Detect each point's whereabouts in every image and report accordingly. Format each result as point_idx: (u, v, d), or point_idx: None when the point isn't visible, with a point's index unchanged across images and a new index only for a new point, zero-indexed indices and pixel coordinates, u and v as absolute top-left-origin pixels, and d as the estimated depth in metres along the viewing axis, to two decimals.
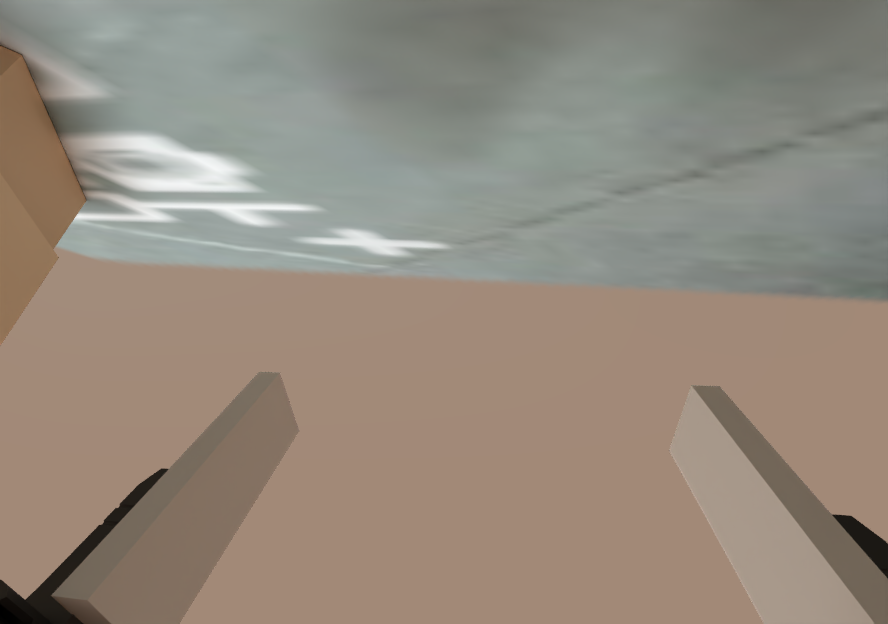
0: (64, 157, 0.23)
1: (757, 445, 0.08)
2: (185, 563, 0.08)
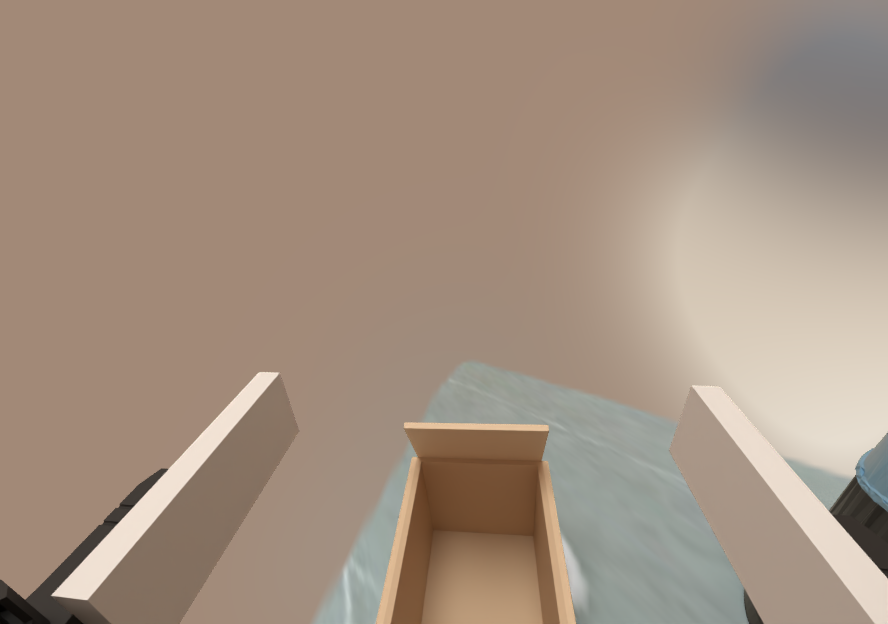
0: None
1: (757, 445, 0.08)
2: (185, 563, 0.08)
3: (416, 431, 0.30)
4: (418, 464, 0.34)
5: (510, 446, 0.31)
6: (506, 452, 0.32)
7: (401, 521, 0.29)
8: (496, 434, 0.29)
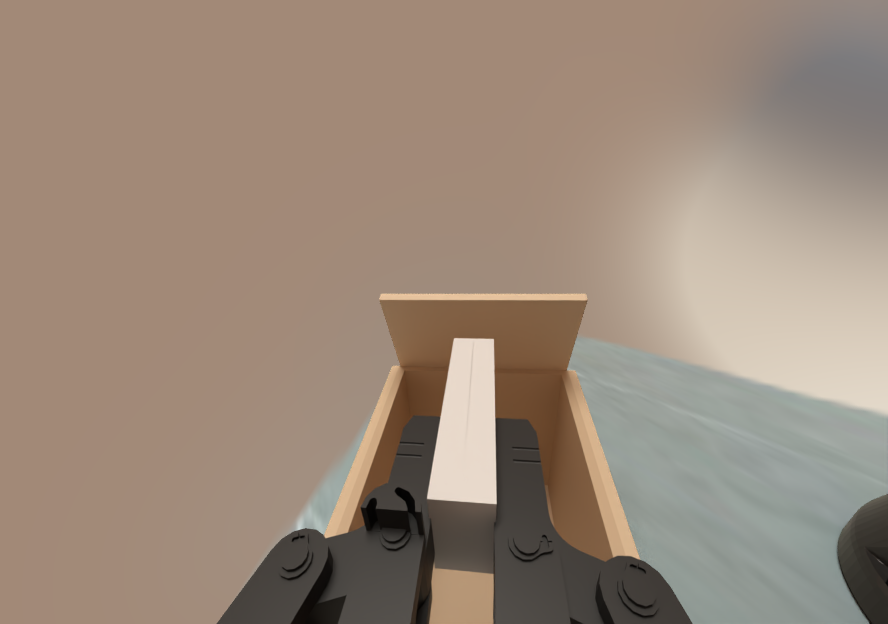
0: None
1: (485, 375, 0.11)
2: None
3: (396, 307, 0.21)
4: (400, 373, 0.25)
5: (527, 338, 0.22)
6: (520, 352, 0.24)
7: (370, 431, 0.21)
8: (510, 312, 0.21)
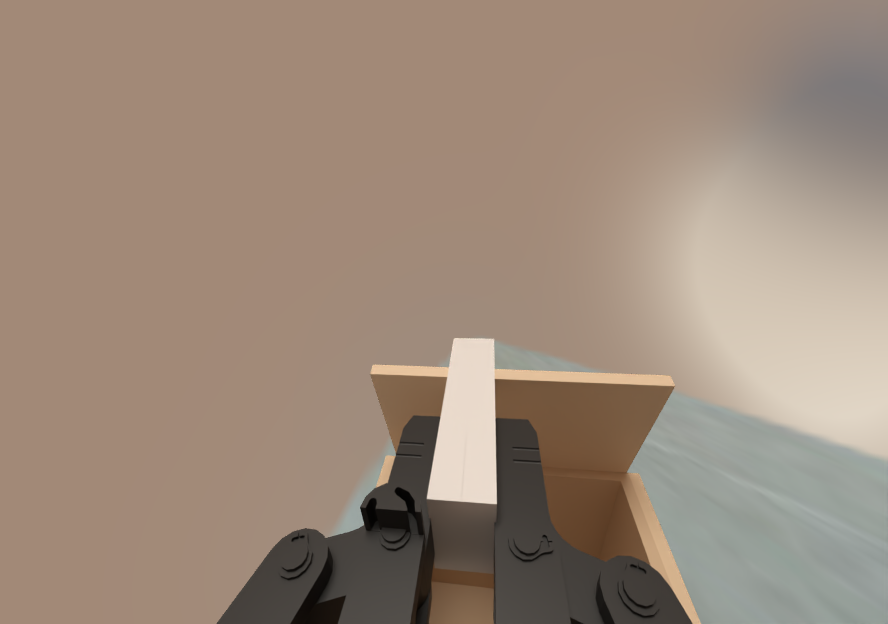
0: None
1: (485, 375, 0.11)
2: None
3: (394, 384, 0.15)
4: None
5: (577, 431, 0.16)
6: (564, 448, 0.17)
7: None
8: (556, 396, 0.14)
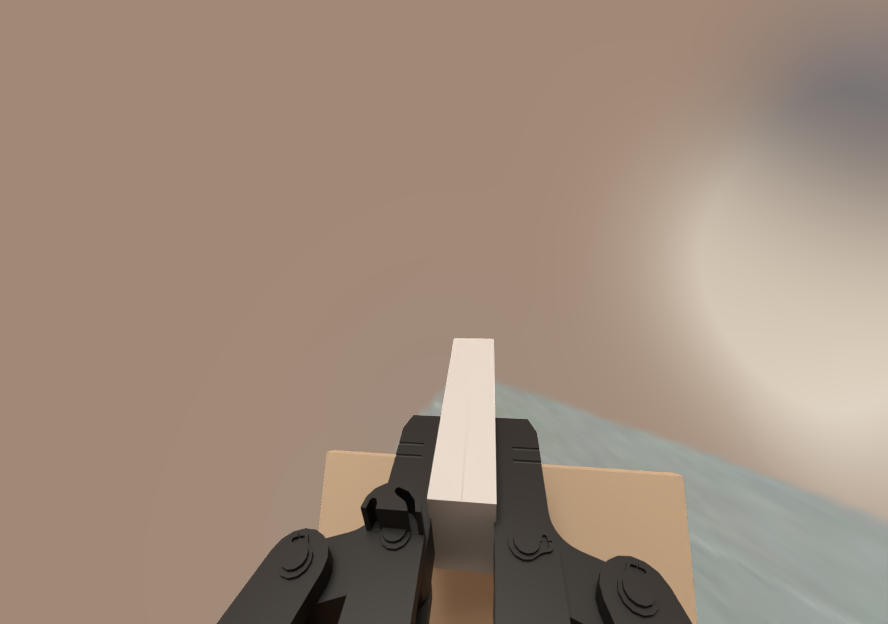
0: None
1: (485, 375, 0.11)
2: None
3: (350, 473, 0.12)
4: None
5: None
6: None
7: None
8: (547, 500, 0.11)
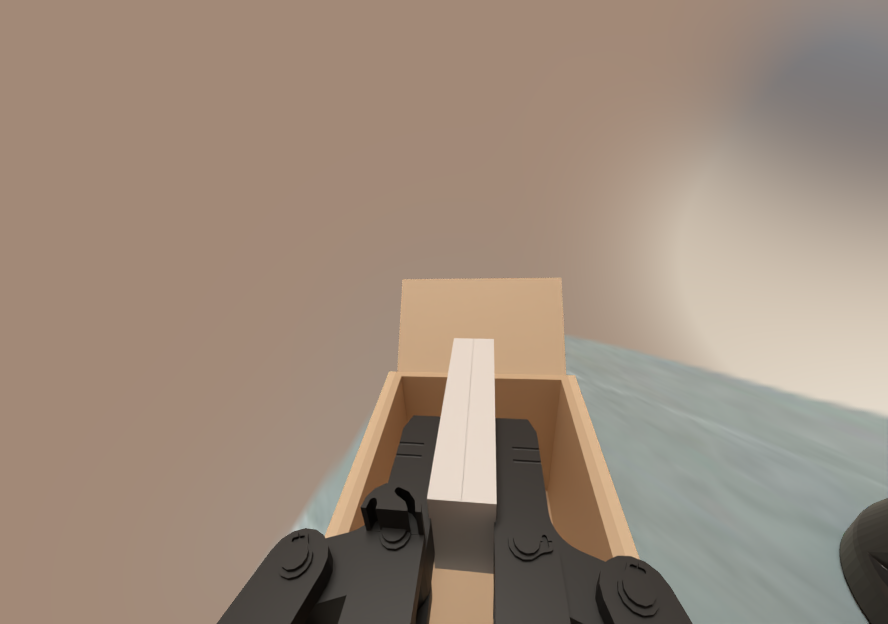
0: None
1: (485, 375, 0.11)
2: None
3: (414, 287, 0.27)
4: (397, 378, 0.25)
5: (521, 324, 0.25)
6: (517, 345, 0.25)
7: (367, 440, 0.20)
8: (503, 291, 0.26)
